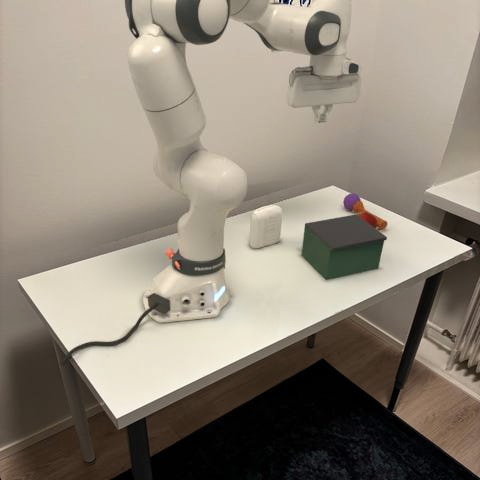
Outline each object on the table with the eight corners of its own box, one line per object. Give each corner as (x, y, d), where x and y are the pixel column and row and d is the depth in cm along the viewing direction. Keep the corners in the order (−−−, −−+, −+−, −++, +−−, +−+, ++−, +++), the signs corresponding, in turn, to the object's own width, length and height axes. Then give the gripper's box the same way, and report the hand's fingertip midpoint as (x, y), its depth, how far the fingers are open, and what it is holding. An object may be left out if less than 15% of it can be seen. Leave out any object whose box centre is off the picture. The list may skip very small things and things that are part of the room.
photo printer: (273, 236, 161) (276, 200, 153) (281, 242, 158) (284, 205, 151) (247, 244, 156) (248, 207, 149) (255, 250, 153) (256, 213, 146)
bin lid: (386, 240, 140) (387, 237, 140) (332, 251, 135) (332, 248, 134) (355, 216, 151) (356, 214, 151) (304, 226, 146) (304, 223, 145)
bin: (378, 268, 147) (384, 238, 141) (326, 280, 141) (330, 249, 135) (350, 245, 157) (355, 217, 151) (301, 255, 152) (304, 226, 146)
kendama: (376, 221, 162) (340, 193, 175) (375, 236, 167) (339, 208, 180) (391, 214, 164) (354, 188, 177) (389, 229, 168) (353, 202, 181)
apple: (374, 242, 160) (379, 219, 155) (349, 239, 161) (353, 216, 156) (374, 231, 166) (378, 208, 161) (349, 228, 167) (353, 206, 162)
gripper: (296, 70, 121) (291, 129, 129) (367, 65, 127) (358, 121, 136) (284, 65, 125) (280, 122, 134) (353, 60, 132) (346, 115, 140)
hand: (320, 122), depth 135 cm, fingers closed
